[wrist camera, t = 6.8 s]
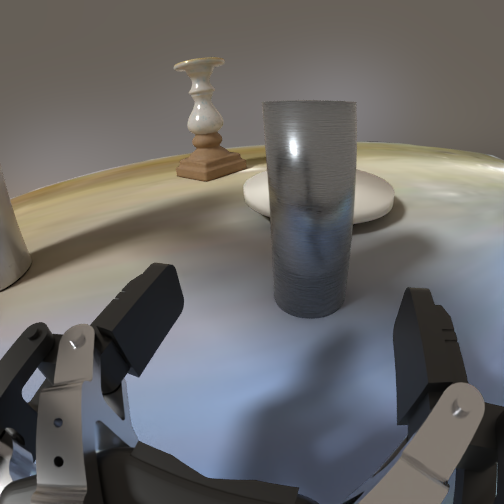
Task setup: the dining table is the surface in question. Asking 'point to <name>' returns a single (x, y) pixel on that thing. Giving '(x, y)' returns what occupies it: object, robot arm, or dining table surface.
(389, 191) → the disc
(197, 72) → the candle holder
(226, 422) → the dining table surface
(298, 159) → the cup
